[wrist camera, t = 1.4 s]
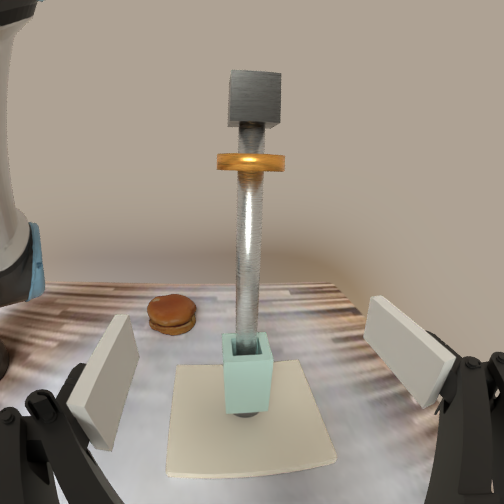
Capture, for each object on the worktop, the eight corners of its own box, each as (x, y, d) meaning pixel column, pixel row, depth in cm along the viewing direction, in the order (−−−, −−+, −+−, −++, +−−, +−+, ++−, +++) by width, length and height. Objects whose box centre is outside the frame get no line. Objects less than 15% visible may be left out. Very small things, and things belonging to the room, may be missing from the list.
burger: (192, 338, 46) (190, 316, 44) (143, 334, 45) (138, 313, 44) (200, 310, 55) (198, 290, 54) (157, 308, 55) (154, 288, 53)
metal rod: (224, 427, 26) (220, 66, 15) (222, 396, 31) (219, 85, 20) (269, 424, 27) (294, 71, 16) (262, 394, 32) (279, 88, 21)
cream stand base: (168, 477, 20) (165, 471, 20) (178, 371, 37) (176, 364, 37) (334, 463, 22) (337, 457, 22) (297, 366, 39) (298, 359, 39)
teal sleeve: (226, 413, 26) (223, 362, 23) (224, 385, 30) (221, 333, 28) (268, 411, 27) (273, 359, 24) (261, 383, 31) (265, 331, 28)
